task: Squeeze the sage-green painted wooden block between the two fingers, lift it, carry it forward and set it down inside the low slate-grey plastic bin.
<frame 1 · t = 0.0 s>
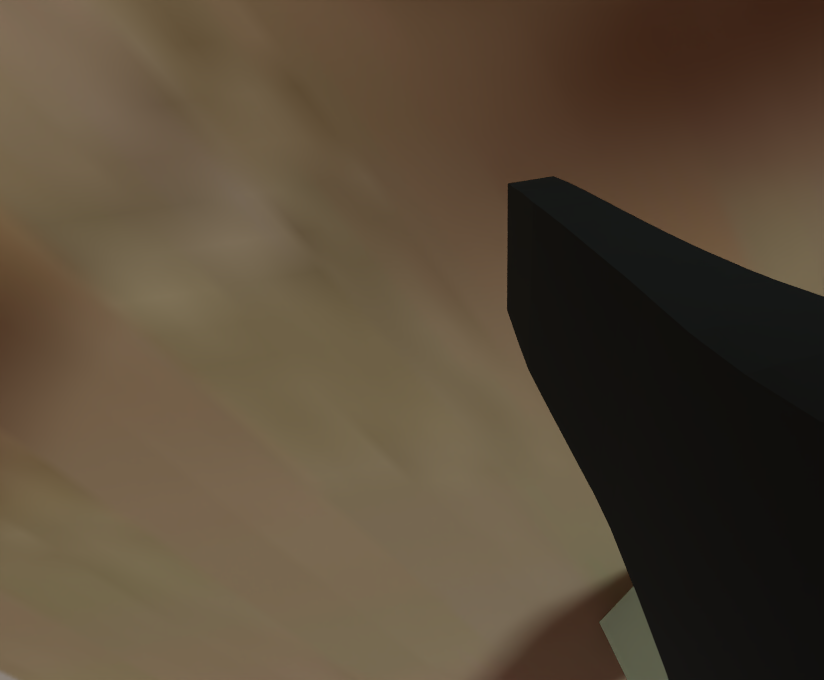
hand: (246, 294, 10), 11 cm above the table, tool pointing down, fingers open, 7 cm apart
block: (673, 600, 31), on the table
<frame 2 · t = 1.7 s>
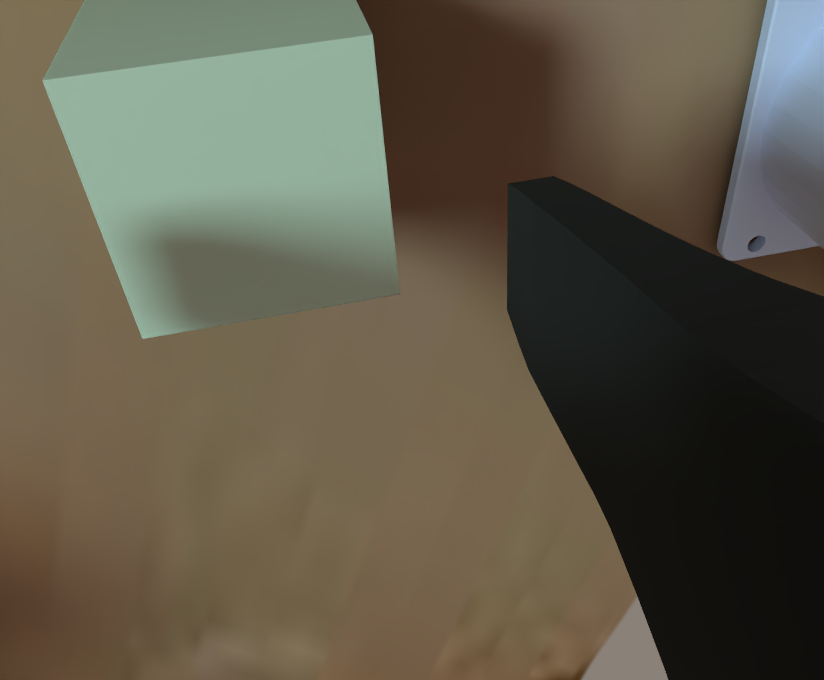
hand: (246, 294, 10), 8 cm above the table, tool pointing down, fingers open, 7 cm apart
block: (240, 70, 16), on the table
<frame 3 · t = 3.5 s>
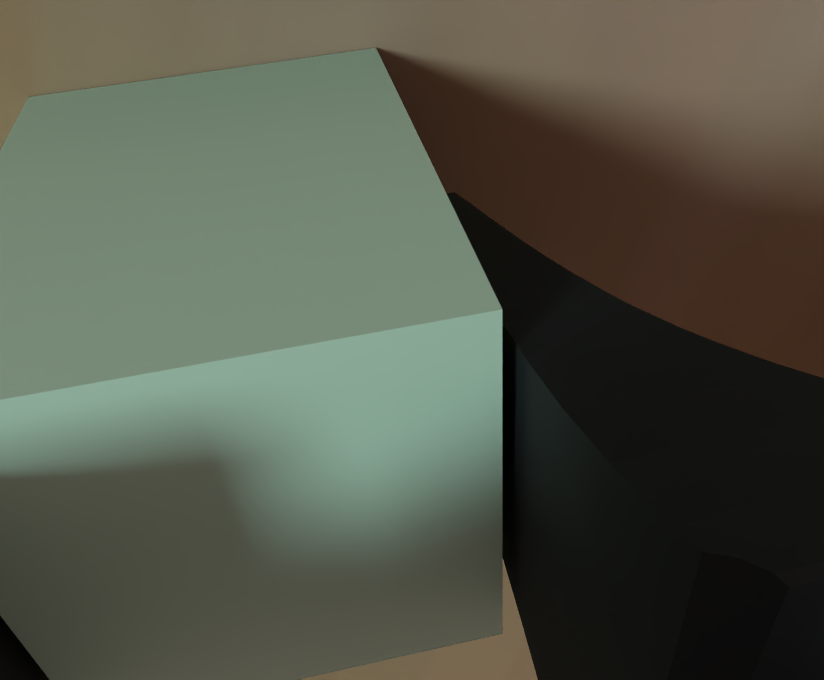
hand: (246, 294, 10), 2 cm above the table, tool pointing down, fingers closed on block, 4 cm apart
block: (243, 221, 11), on the table, touching gripper
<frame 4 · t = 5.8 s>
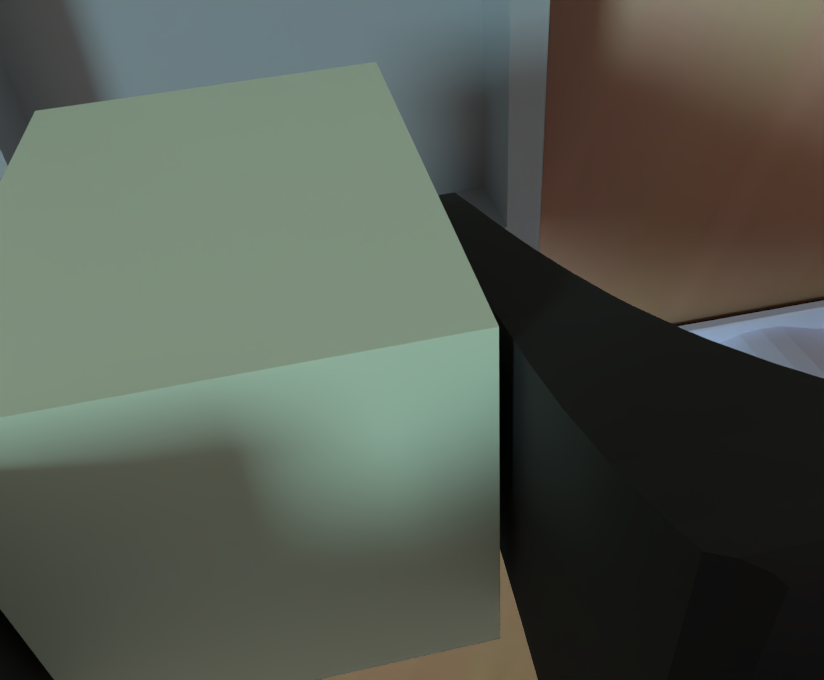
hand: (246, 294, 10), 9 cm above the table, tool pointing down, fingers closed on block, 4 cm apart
block: (245, 231, 12), point 7 cm above the table, touching gripper
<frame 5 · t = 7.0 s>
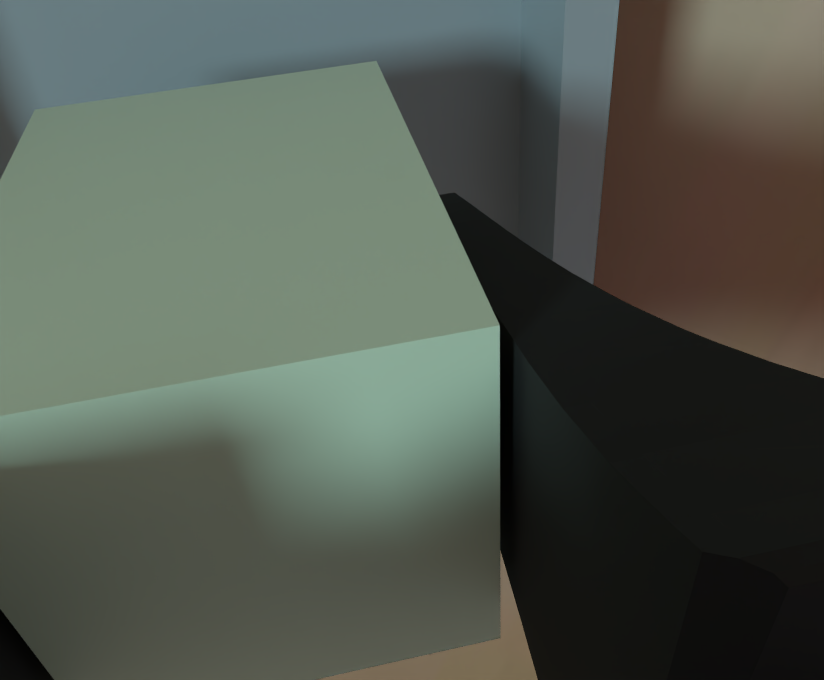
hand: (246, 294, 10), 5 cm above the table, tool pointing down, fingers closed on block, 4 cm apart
block: (245, 230, 12), point 3 cm above the table, touching gripper
bin: (241, 142, 14), on the table
when the fingers open (4 cm above the table, at t = 8.1 s): block drops 1 cm, resting on bin.
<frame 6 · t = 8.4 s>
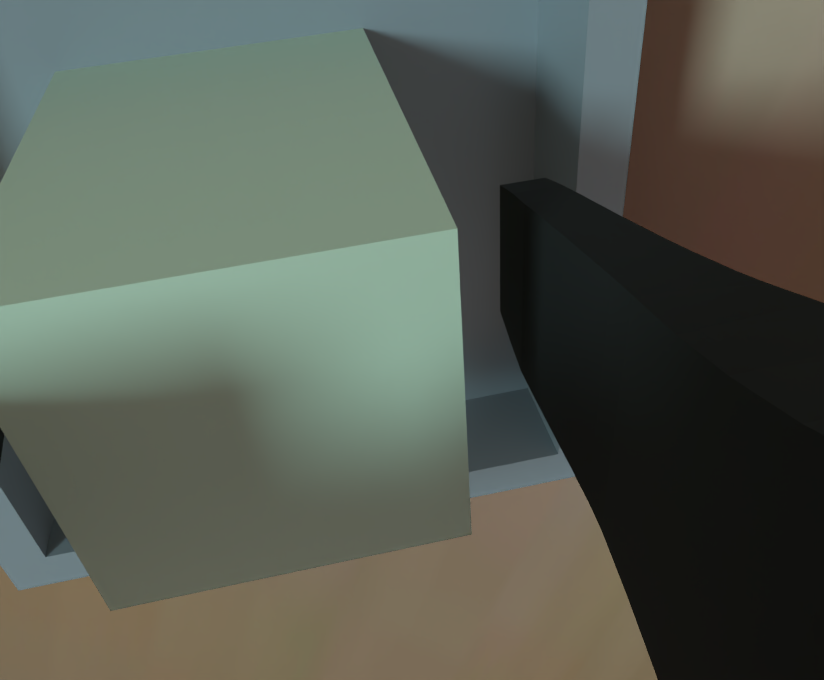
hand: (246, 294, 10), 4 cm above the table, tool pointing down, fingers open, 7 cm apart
block: (245, 186, 13), resting on bin
bin: (241, 163, 13), on the table
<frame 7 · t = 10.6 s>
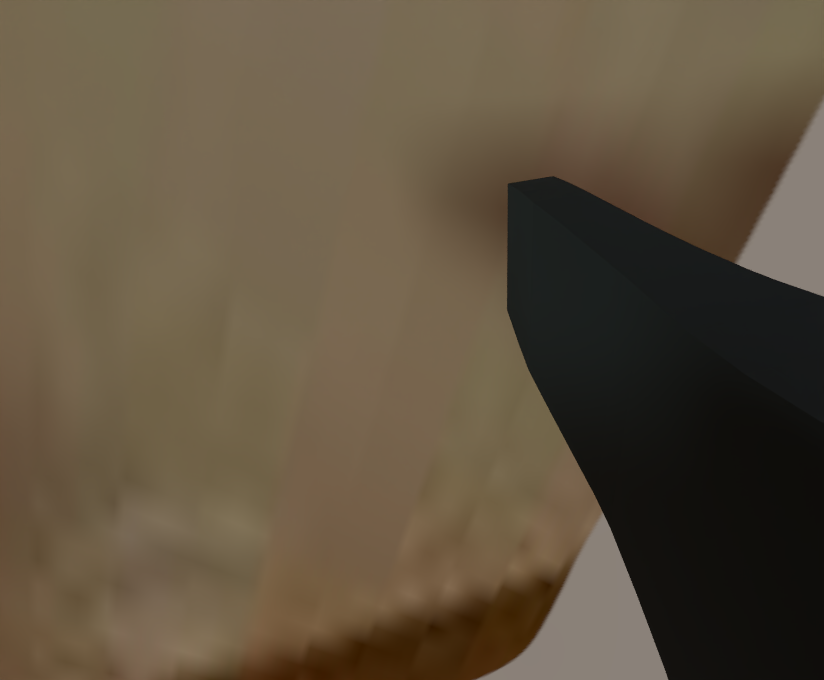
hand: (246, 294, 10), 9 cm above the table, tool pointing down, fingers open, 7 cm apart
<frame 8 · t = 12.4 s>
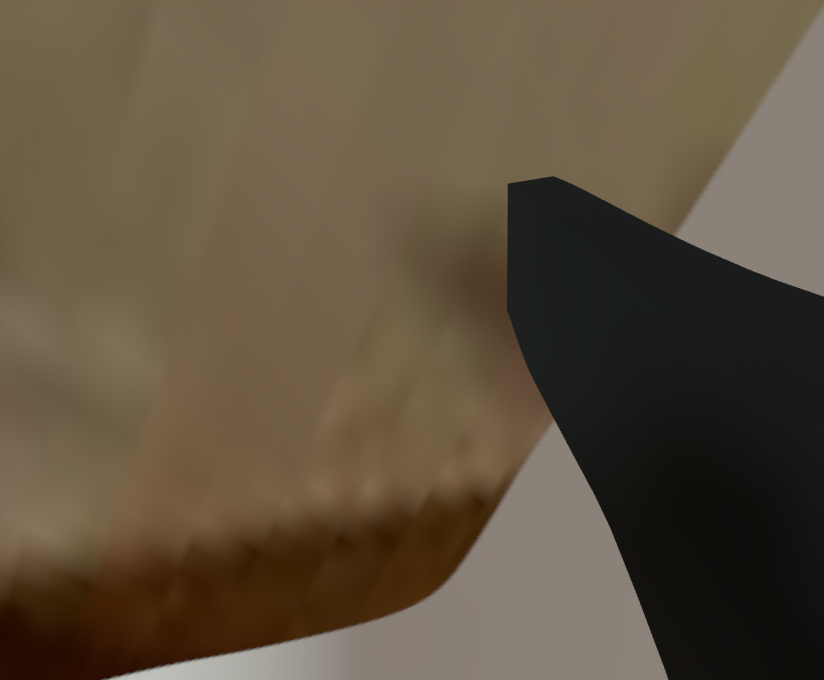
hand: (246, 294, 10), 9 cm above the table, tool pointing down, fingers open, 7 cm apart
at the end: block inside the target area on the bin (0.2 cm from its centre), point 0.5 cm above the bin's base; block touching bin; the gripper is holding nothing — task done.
